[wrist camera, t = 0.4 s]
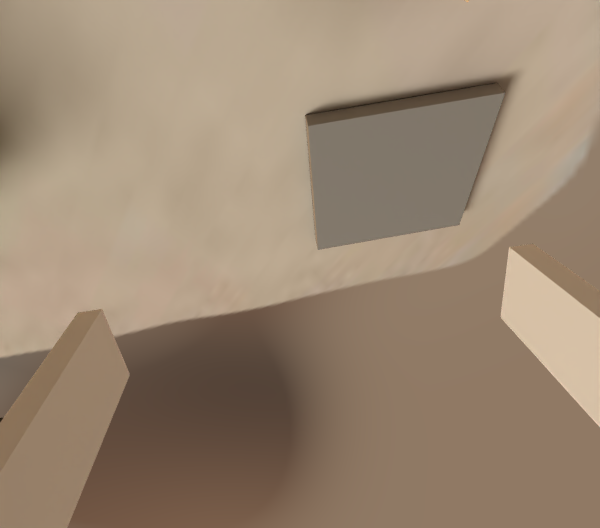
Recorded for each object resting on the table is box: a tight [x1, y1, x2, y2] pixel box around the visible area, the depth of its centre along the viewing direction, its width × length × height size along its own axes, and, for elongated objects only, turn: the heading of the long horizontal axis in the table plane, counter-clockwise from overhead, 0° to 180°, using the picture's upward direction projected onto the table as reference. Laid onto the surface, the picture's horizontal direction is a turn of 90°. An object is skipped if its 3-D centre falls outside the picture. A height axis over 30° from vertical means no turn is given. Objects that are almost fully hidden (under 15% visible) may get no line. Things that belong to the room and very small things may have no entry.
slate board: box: [305, 83, 505, 250], centre depth 27 cm, size 11×11×1 cm
